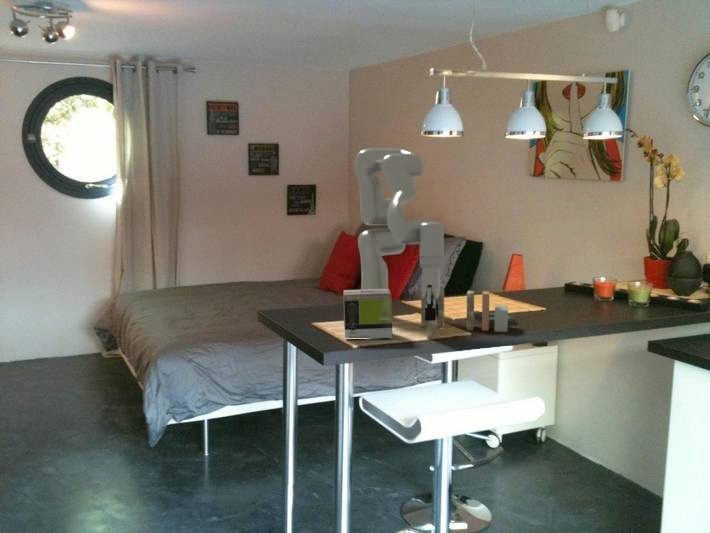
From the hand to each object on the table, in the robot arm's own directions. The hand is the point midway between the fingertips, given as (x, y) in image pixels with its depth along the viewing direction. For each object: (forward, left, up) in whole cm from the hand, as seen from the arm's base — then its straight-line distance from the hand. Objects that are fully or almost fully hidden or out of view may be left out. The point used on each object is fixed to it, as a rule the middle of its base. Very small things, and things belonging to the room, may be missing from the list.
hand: (431, 317), depth 226 cm
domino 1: (-4, +15, -6) cm, 17 cm away
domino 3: (+1, +15, -6) cm, 16 cm away
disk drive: (+18, +28, -7) cm, 34 cm away
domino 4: (+11, +15, -6) cm, 20 cm away
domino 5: (+16, +15, -6) cm, 23 cm away
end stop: (+21, +15, -6) cm, 27 cm away
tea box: (-20, -3, -6) cm, 21 cm away
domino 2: (0, 0, -6) cm, 6 cm away
